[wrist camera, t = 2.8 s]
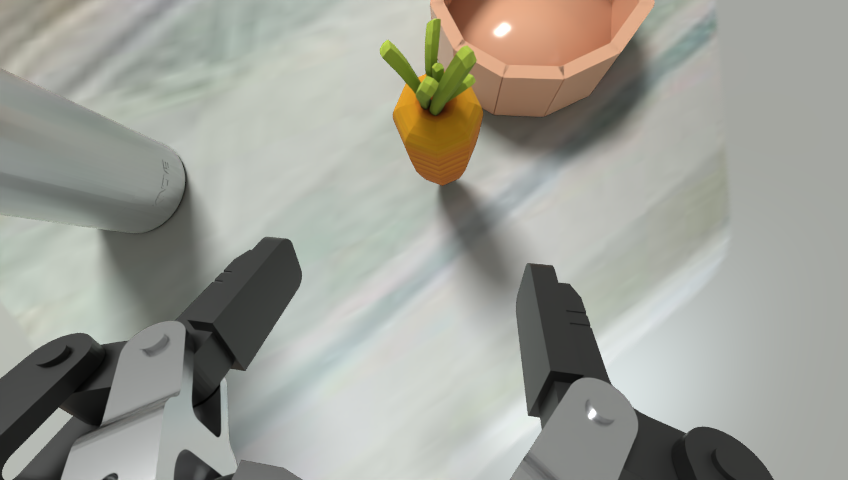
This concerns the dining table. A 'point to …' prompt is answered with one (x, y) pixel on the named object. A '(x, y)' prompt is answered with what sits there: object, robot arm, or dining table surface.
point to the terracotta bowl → (536, 47)
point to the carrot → (437, 109)
